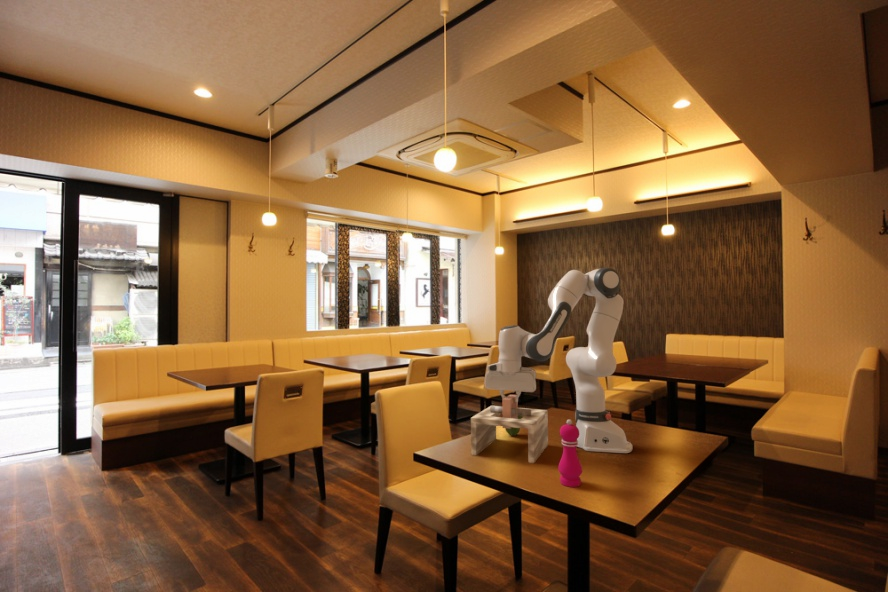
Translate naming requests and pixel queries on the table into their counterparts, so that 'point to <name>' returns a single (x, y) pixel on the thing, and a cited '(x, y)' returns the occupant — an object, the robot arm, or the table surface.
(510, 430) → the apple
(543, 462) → the table surface
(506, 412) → the u piece
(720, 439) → the table surface
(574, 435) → the pepper mill
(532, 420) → the shelf
